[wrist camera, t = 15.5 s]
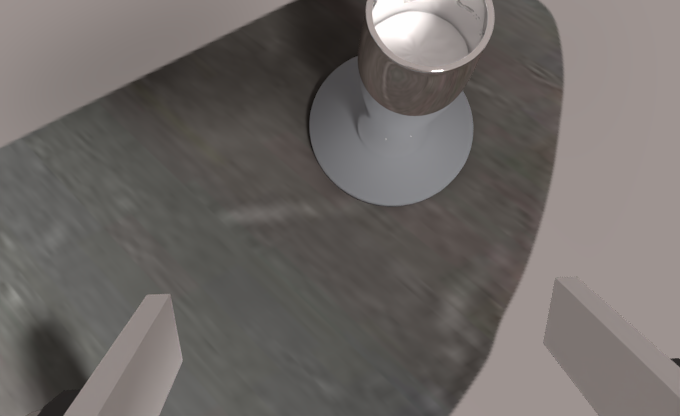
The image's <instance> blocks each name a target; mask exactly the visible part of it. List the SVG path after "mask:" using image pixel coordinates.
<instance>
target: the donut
mask: <svg viewBox="0 0 680 416" xmlns="http://www.w3.org/2000/svg"><path fill="white" fill-rule="evenodd" d="M40 412H41V410H39V411H35V412H31V413H29V414H28V415H26V416H37V415H38V414H39V413H40Z"/></svg>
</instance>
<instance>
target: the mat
mask: <svg viewBox="0 0 680 416" xmlns="http://www.w3.org/2000/svg"><path fill="white" fill-rule="evenodd" d="M357 64H358V56H356V57H354V58H352V59H350V60H348V61H346V62H345V63H343V64H342V65H340V66H339V67H338V68H336V69H335V70H334V71H333V72H332V73H331V74H330V75H329V76H328V77H327V79H326V80H325V81H324V82H323V84H322V85H321V87H320V89H319V90H318V92H317V94H316V96H315V99H314V101H313V105H312V108H311V113H310V121H309V129H310V138H311V144H312V147H313V151H314V154H315V156H316V159H317V161H318V163H319V165H320V167H321V168H322V170H323V171H324V173H325V174H326V175H327V176H328V178H329V179H330V180H331V181H332V182H333V183H334V184H335V185H336V186H337V187H338V188H340V189H341V190H342V191H344V192H345V193H347V194H348V195H350V196H352V197H354V198H356V199H358V200H361V201H363V202H366V203H369V204H374V205H378V206H387V207H394V206H405V205H411V204H414V203H418V202H421V201H423V200H425V199H428V198H430V197H432V196H433V195H435V194H437V193H438V192H440V191H441V190H442V189H443V188H445V187H446V186H447V185H448V184H449V183H450V182H451V181H452V180H453V179H454V178H455V177H456V176H457V174H458V173H459V172H460V170H461V169H462V167H463V166H464V164H465V162H466V160H467V158H468V155H469V152H470V149H471V145H472V140H473V118H472V113H471V109H470V106H469V103H468V100H467V98H466V96H465V94H464V92H463V90H462V92H461V93H460V95H459V96H458V97H457V99H456V100H455V101H454V102H453V103H452V104H451V105H450V106H449V107H448V108H447V109H446V110H445V111H444V112H443V113H442V114H441V115H440V116H438V117H437V118H436V119H435V120H433V121H432V122H431V123H429V131H428V134H427V137H426V139H425V141H424V143H423V144H422V146H421V147H420V148H419V149H418V150H416V151H415V152H414V153H412V154H410V155H408V156H406V157H403V158H397V159H390V158H384V157H381V156H378V155H376V154H375V153H373V152H371V151H370V150H369V149H368V148H367V147H366V146H365V145H364V144H363V142H362V140H361V138H360V136H359V134H358V129H357V118H358V114H359V111H360V109H361V107H362V105H363V103H364V101H363V97H362V93H361V89H360V85H359V78H358V70H357Z"/></svg>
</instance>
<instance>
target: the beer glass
mask: <svg viewBox="0 0 680 416" xmlns="http://www.w3.org/2000/svg"><path fill="white" fill-rule="evenodd" d="M493 27H494V7H493V3H492V0H367V4H366V12H365V16H364V20H363V24H362V29H361V34H360V40H359V47H358V64H357V70H358V78H359V85H360V89H361V93H362V97H363V101H364V103H363V105H362V107H361V109H360V111H359V114H358V118H357V129H358V134H359V136H360V138H361V140H362V142H363V144H364V145H365V146H366V147H367V148H368V149H369V150H370V151H371V152H373V153H375V154H376V155H378V156H381V157H384V158H390V159H397V158H403V157H406V156H408V155H410V154H412V153H414V152H415V151H416V150H418V149H419V148H420V147H421V146H422V144H423V143H424V141H425V139H426V137H427V134H428V131H429V123H431V122H432V121H433V120H435V119H436V118H437V117H438V116H440V115H441V114H442V113H443V112H444V111H445V110H446V109H447V108H448V107H449V106H450V105H451V104H452V103H453V102H454V101H455V100H456V99H457V97H458V96H459V95H460V93H461V92H462V90H463V89H464V88H465V86H466V85H467V83H468V81H469V79H470V77H471V76H472V74H473V72H474V70H475V68H476V66H477V64H478V62H479V59H480V57H481V55H482V53H483V50H484V48H485V46H486V45H487V43H488V41H489V39H490V37H491V34H492V31H493Z"/></svg>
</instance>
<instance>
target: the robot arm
mask: <svg viewBox="0 0 680 416" xmlns="http://www.w3.org/2000/svg"><path fill="white" fill-rule="evenodd" d="M543 343H544V345H545V346H546V347H547V349H548V350H549V351H550V353H551V354H552V355H553V357H554V358H555V359H556V360H557V362H558V363H559V364H560V366H561V367H562V368H563V369H564V371H565V372H566V373H567V375H568V376H569V377H570V379H571V380H572V381H573V383H574V384H575V385H576V387H577V388H578V389H579V391H580V392H581V393H582V394H583V396H584V397H585V398H586V400H587V401H588V402H589V404H590V405H591V406H592V407H593V409H594V410H595V411H596V413H597V414H598V415H599V416H680V359H679V358H675V359H670V358H669V357H667V356H666V355H665V354H664V353H663V352H662V351H661V350H659V349H658V348H657V347H656V346H655V345H654V344H653V343H652V342H650V341H649V340H648V339H647V338H646V337H645V336H643V335H642V334H641V333H640V332H639V331H638V330H637V329H636V328H634V327H633V326H632V325H631V324H630V323H629V322H628V321H627V320H625V319H624V318H623V317H622V316H621V315H620V314H619V313H618V312H616V311H615V310H614V309H613V308H612V307H611V306H609V305H608V304H607V303H606V302H605V301H604V300H602V299H601V297H599V296H598V295H597V294H596V293H595V292H594V291H593V290H591V289H590V288H589V287H588V286H587V285H586V284H585V283H584V282H582V281H581V280H580V279H579V278H578V277H557V278H555V282H554V287H553V293H552V299H551V304H550V310H549V315H548V320H547V325H546V331H545V337H544V342H543ZM182 361H183V360H182V354H181V349H180V344H179V338H178V333H177V327H176V322H175V317H174V311H173V306H172V300H171V295H170V294H155V295H146V297H145V298H144V300H143V301H142V303H141V304H140V306H139V307H138V308H137V310H136V311H135V313H134V314H133V316H132V317H131V319H130V320H129V321H128V323H127V324H126V326H125V327H124V329H123V330H122V332H121V333H120V335H119V336H118V337H117V339H116V340H115V342H114V343H113V345H112V346H111V348H110V349H109V350H108V352H107V353H106V355H105V356H104V358H103V359H102V361H101V362H100V363H99V365H98V366H97V368H96V369H95V371H94V372H93V374H92V375H91V376H90V378H89V379H88V381H87V382H86V384H85V385H84V387H83V388H82V389H81V390H66V391H63V392H62V393H61V394H59V395H58V396H57V397H56V398H54V399H53V400H52V401H51V402H49V403H48V404H47V405H46V406H44V408H43V409H42V410H41V412H40V413H39V414H38V415H37V416H159V414H160V412H161V410H162V407H163V405H164V403H165V400H166V398H167V396H168V393H169V391H170V389H171V386H172V384H173V382H174V380H175V377H176V375H177V373H178V370H179V368H180V366H181V363H182Z"/></svg>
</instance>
